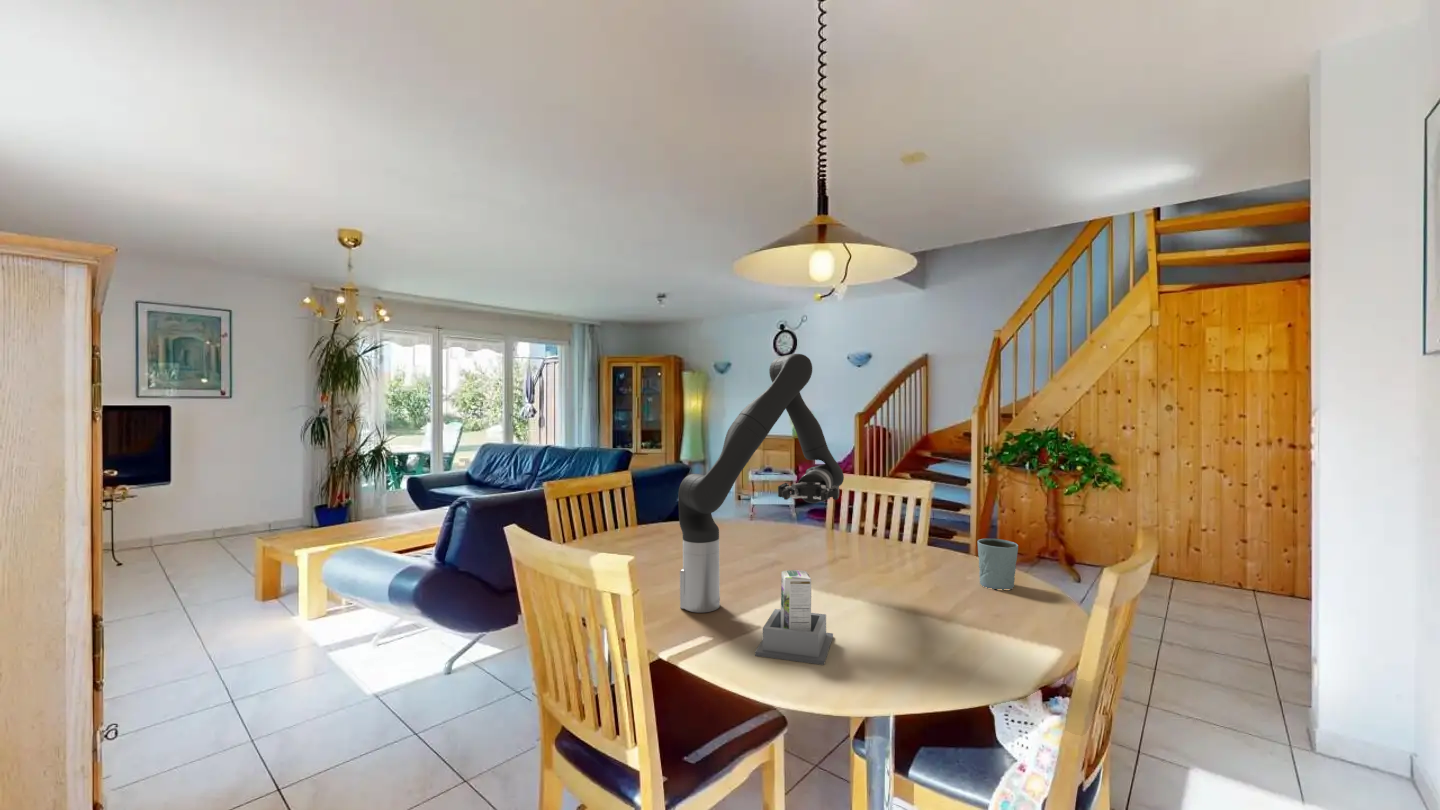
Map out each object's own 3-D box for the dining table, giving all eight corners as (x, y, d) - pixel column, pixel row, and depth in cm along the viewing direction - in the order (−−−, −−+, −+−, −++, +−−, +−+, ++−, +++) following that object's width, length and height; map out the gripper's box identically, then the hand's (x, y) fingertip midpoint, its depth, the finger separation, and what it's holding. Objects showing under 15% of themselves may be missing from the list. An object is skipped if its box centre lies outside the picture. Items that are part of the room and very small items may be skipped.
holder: (755, 655, 119) (754, 629, 119) (770, 629, 133) (770, 606, 133) (823, 665, 115) (823, 638, 115) (833, 636, 128) (832, 612, 128)
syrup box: (780, 636, 127) (779, 570, 126) (807, 635, 127) (806, 569, 127) (784, 648, 121) (783, 578, 121) (812, 647, 121) (812, 577, 121)
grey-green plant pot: (970, 580, 166) (970, 538, 166) (1003, 579, 167) (1003, 537, 167) (990, 592, 156) (990, 547, 156) (1026, 591, 157) (1026, 546, 157)
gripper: (787, 470, 151) (773, 478, 136) (843, 471, 147) (835, 480, 132) (787, 498, 152) (773, 510, 136) (843, 501, 147) (835, 514, 132)
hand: (803, 496), depth 134 cm, fingers open, 8 cm apart
